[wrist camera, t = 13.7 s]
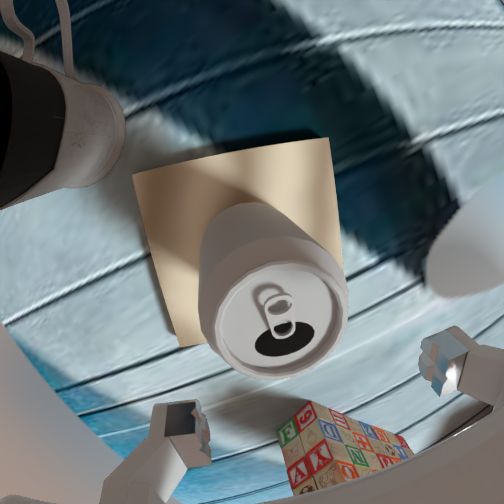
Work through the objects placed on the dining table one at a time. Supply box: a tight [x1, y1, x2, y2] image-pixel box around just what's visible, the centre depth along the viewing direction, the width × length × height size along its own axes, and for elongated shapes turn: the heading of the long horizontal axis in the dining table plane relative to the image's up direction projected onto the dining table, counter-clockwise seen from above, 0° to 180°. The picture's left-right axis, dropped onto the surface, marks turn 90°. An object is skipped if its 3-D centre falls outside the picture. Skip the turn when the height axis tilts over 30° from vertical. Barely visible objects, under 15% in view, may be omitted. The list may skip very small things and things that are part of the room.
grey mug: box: [0, 0, 126, 210], centre depth 14 cm, size 9×14×15 cm, turn 171°
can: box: [198, 202, 348, 380], centre depth 19 cm, size 8×8×12 cm
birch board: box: [132, 138, 343, 347], centre depth 26 cm, size 15×15×2 cm
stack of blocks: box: [277, 401, 414, 496], centre depth 31 cm, size 21×6×12 cm, turn 53°
